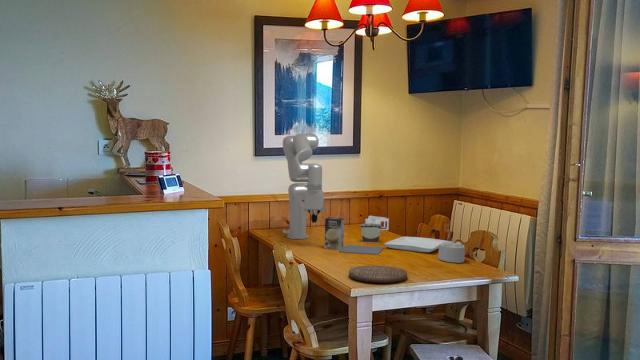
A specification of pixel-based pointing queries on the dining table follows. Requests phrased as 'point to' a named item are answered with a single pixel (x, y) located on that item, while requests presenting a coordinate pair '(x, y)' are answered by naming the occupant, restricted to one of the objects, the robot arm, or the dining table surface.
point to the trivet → (378, 274)
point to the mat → (361, 249)
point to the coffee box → (334, 233)
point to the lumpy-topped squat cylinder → (452, 252)
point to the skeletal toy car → (377, 221)
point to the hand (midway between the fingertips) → (314, 222)
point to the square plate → (415, 244)
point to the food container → (370, 232)
